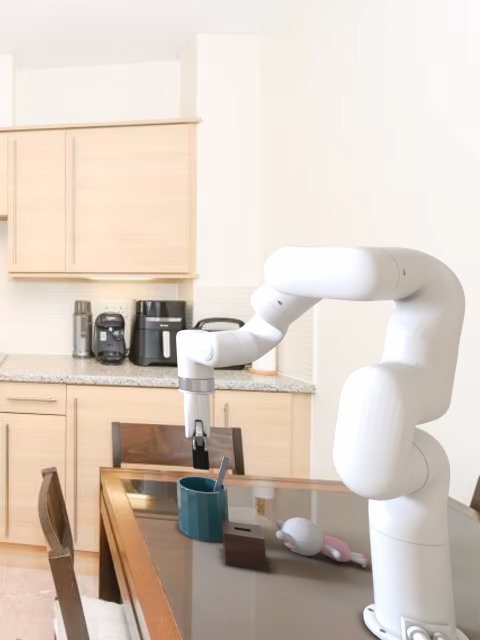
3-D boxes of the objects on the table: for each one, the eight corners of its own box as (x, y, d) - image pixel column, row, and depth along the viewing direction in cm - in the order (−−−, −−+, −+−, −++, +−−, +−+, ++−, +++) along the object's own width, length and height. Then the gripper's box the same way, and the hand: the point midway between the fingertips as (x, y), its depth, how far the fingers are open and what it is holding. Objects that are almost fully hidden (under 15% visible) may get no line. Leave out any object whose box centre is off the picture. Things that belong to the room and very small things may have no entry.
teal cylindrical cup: (231, 544, 107) (228, 496, 108) (178, 536, 111) (176, 489, 112) (227, 524, 117) (225, 479, 117) (179, 517, 121) (177, 473, 121)
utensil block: (266, 571, 97) (264, 539, 97) (225, 564, 100) (223, 533, 100) (262, 556, 103) (260, 525, 103) (223, 550, 105) (221, 520, 106)
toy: (351, 572, 103) (270, 529, 110) (365, 542, 102) (282, 500, 109) (359, 594, 96) (271, 546, 103) (374, 562, 95) (284, 515, 102)
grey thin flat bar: (211, 530, 112) (231, 459, 114) (201, 525, 113) (221, 455, 115) (211, 530, 113) (231, 459, 115) (201, 525, 114) (221, 455, 116)
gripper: (179, 377, 125) (182, 449, 124) (178, 391, 110) (182, 473, 108) (212, 379, 123) (217, 452, 121) (216, 393, 107) (221, 477, 105)
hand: (200, 462), depth 115 cm, fingers open, 9 cm apart
